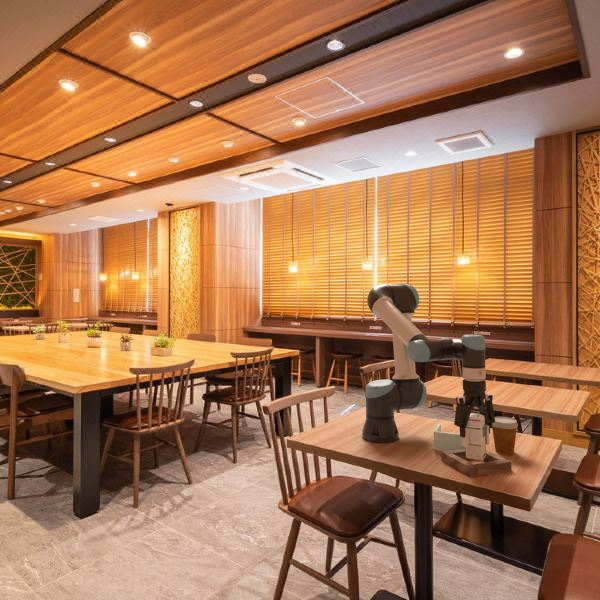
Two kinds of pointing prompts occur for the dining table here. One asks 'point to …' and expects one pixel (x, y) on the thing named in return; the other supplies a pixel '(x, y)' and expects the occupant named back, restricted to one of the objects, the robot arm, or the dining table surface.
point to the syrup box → (476, 437)
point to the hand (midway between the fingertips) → (475, 444)
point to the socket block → (489, 467)
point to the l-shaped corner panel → (446, 440)
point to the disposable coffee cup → (504, 434)
